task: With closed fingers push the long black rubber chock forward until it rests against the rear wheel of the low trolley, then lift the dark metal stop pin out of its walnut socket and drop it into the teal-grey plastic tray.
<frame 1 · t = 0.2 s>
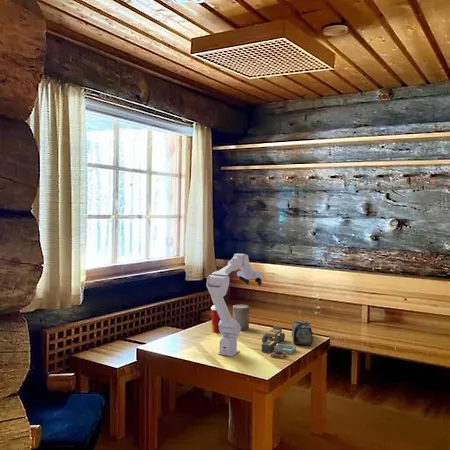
hand: (254, 283, 275), 31 cm above the table, tool tilted 50°, fingers open, 7 cm apart
stop pin: (278, 350, 247), in the pin holder
pillar candle: (240, 328, 299), on the table
trolley: (273, 341, 272), on the table
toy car: (301, 340, 276), on the table
tray: (285, 351, 256), on the table
pin holder: (278, 356, 247), on the table
coffee cup: (217, 331, 292), on the table
chock: (268, 350, 256), on the table
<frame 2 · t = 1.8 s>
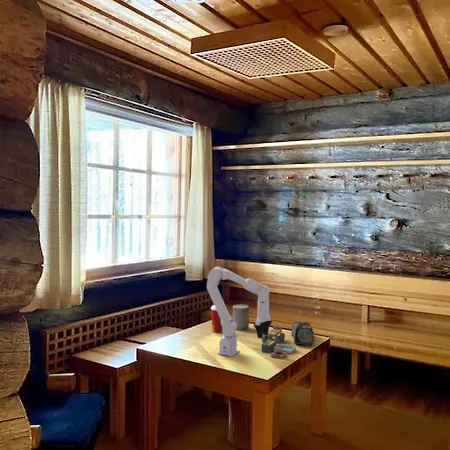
hand: (262, 336, 249), 9 cm above the table, tool pointing down, fingers open, 6 cm apart
nothing on the table moved.
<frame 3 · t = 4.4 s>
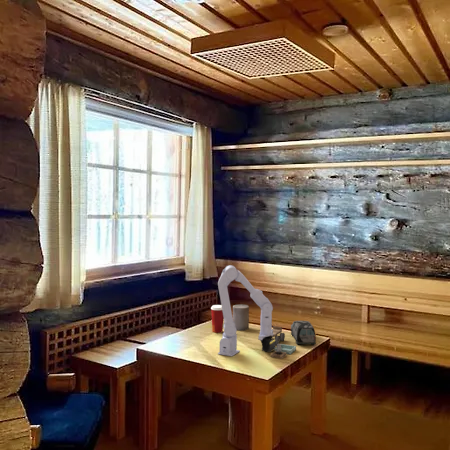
hand: (265, 350, 253), 1 cm above the table, tool pointing down, fingers closed
chock: (268, 349, 258), on the table, touching gripper
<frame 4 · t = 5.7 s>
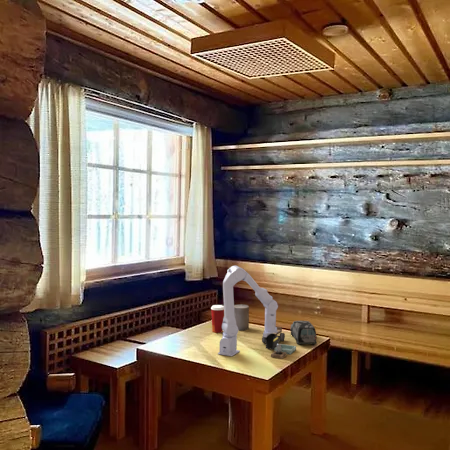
hand: (269, 347, 258), 1 cm above the table, tool pointing down, fingers closed
chock: (271, 347, 262), on the table, touching gripper, trolley
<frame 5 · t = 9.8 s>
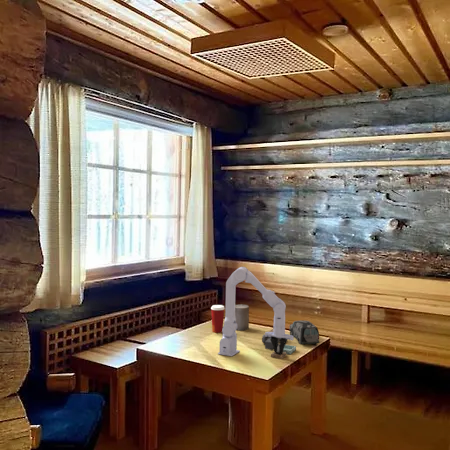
hand: (278, 352, 247), 2 cm above the table, tool pointing down, fingers closed on stop pin, 2 cm apart
stop pin: (278, 350, 247), in the pin holder, touching gripper
chock: (271, 347, 262), on the table
when the fingers open (4 cm above the table, at t = 13.0 s): stop pin drops 2 cm and tips over, resting on tray.
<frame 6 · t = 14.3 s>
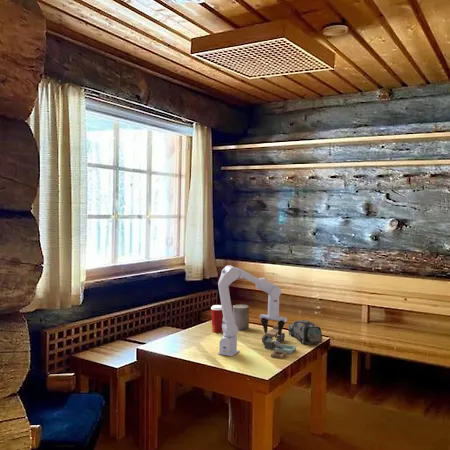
hand: (272, 333, 258), 8 cm above the table, tool pointing down, fingers open, 7 cm apart
stop pin: (278, 344, 256), in the tray, tilted 59°
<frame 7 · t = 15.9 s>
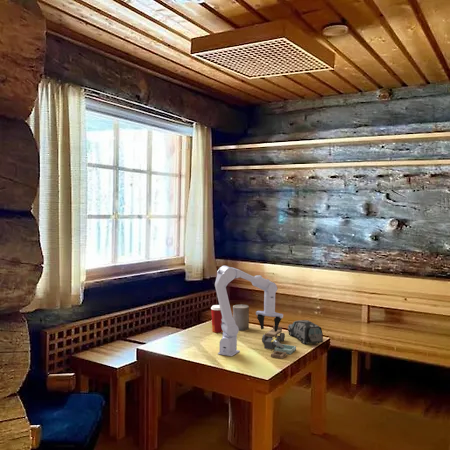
hand: (269, 330, 259), 10 cm above the table, tool pointing down, fingers open, 7 cm apart
at the end: chock 1.1 cm from the target spot, on the table; stop pin inside the target area on the tray (1.6 cm from its centre), point 3.1 cm above the tray's base; the gripper is holding nothing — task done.
